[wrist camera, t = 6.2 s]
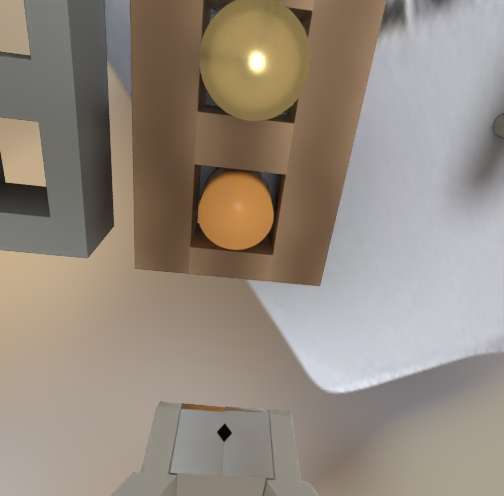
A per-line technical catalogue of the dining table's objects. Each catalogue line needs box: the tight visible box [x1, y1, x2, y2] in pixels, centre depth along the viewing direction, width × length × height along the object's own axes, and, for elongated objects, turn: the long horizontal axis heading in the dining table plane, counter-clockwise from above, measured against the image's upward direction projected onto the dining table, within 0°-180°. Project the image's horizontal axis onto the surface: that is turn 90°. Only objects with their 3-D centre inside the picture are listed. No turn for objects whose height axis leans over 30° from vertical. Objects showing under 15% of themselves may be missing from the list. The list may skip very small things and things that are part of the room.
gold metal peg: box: [199, 0, 311, 121], centre depth 18 cm, size 4×4×10 cm
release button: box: [198, 167, 274, 250], centre depth 23 cm, size 4×4×4 cm
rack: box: [0, 0, 114, 258], centre depth 20 cm, size 9×18×5 cm, turn 173°
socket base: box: [130, 0, 386, 286], centre depth 22 cm, size 12×18×4 cm, turn 173°
